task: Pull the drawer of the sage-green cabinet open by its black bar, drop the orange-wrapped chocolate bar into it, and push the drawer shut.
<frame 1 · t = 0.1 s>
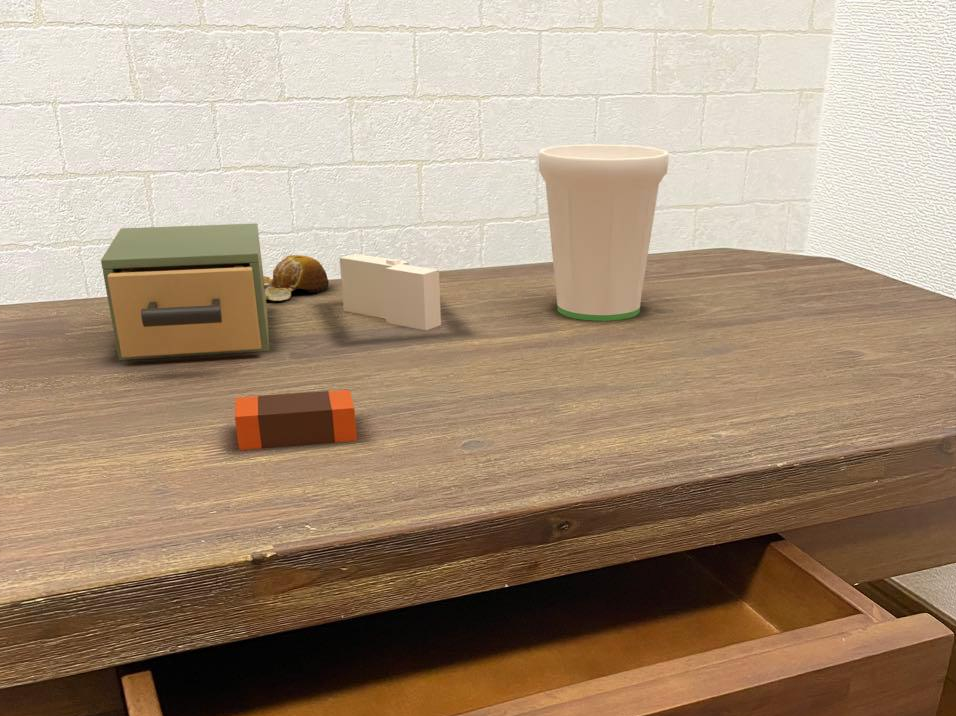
drawer: (189, 301, 91), point 4 cm above the table, slide at 1.0 cm
cabinet: (199, 334, 97), on the table
napkin holder: (390, 322, 102), on the table
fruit: (282, 294, 112), on the table
chocolate bar: (297, 436, 74), on the table
cup: (598, 312, 106), on the table
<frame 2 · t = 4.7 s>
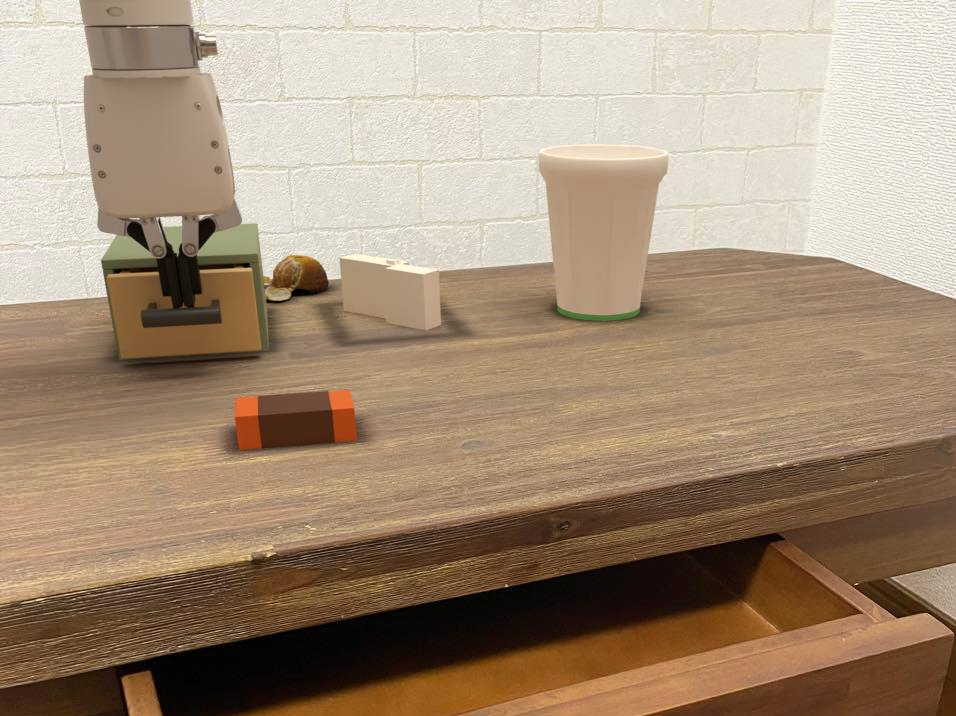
hand: (184, 303, 84), 6 cm above the table, tool pointing down, fingers closed
drawer: (189, 302, 91), point 4 cm above the table, slide at 1.3 cm, touching gripper
everything else where it was.
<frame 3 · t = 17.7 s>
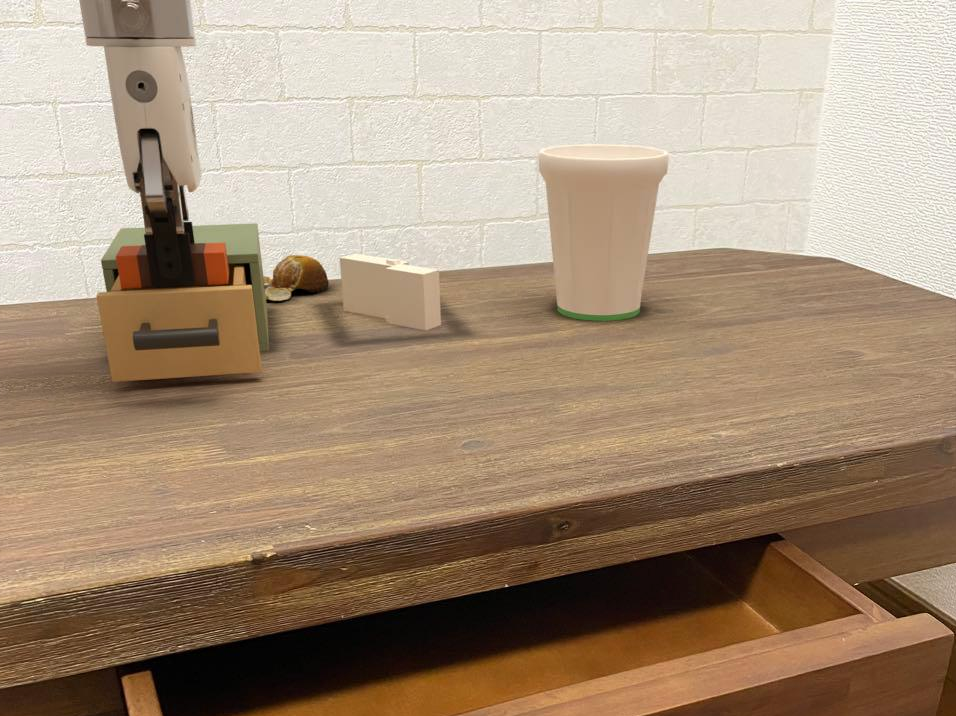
hand: (175, 277, 83), 8 cm above the table, tool pointing down, fingers closed on chocolate bar, 4 cm apart
drawer: (184, 320, 85), point 4 cm above the table, slide at 7.7 cm
chocolate bar: (176, 280, 83), point 8 cm above the table, touching gripper
everything else where it was.
when the fingers open (8 cm above the table, at t = 20.4 s): chocolate bar drops 6 cm, resting on drawer.
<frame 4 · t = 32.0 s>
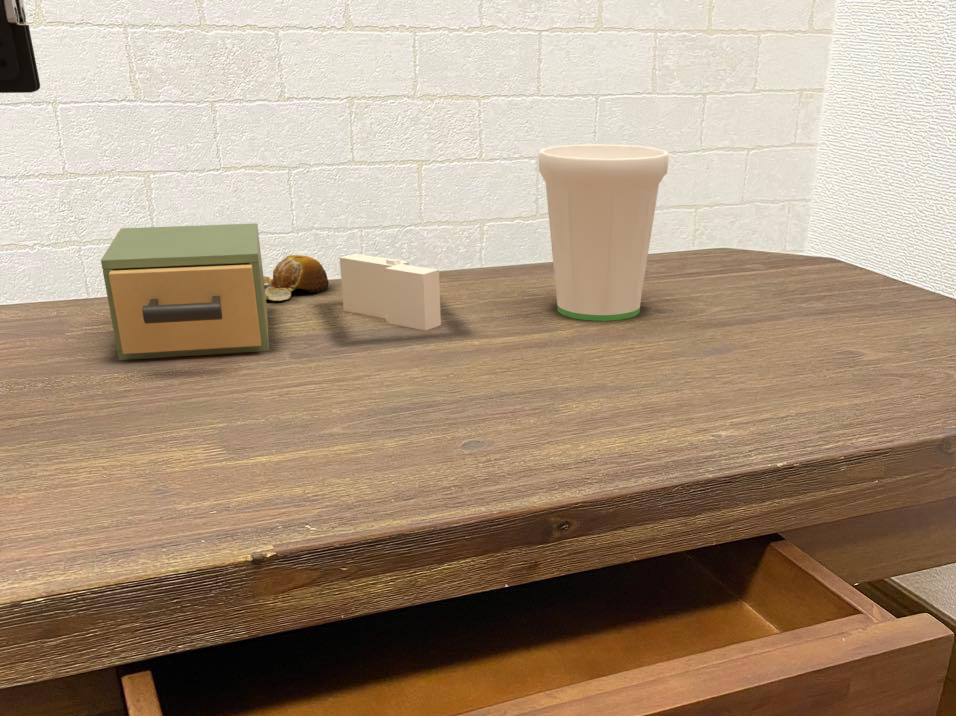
hand: (13, 91, 69), 22 cm above the table, tool pointing down, fingers closed
drawer: (189, 298, 92), point 4 cm above the table, slide at 0.0 cm, touching chocolate bar
chocolate bar: (194, 324, 93), point 2 cm above the table, touching drawer
everything else where it was.
at the end: chocolate bar inside the target area in the cabinet (4.3 cm from its centre), point 2.0 cm above the cabinet's base; drawer pulled out 7.9 cm at the most during the clip, back to where it started at the end; drawer slide at 0.0 cm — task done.
